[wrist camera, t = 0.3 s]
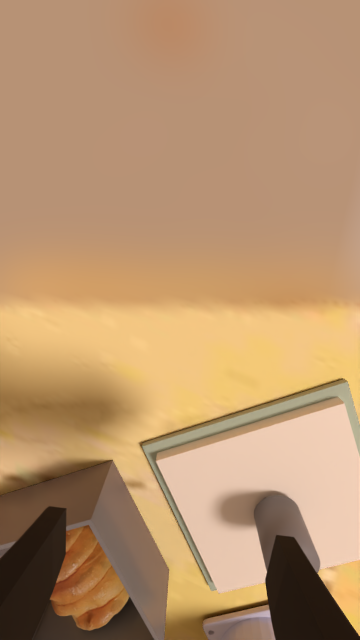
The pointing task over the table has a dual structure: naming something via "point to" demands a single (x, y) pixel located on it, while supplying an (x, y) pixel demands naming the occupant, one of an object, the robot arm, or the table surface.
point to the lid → (270, 492)
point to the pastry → (87, 582)
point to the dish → (116, 541)
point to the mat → (240, 420)
